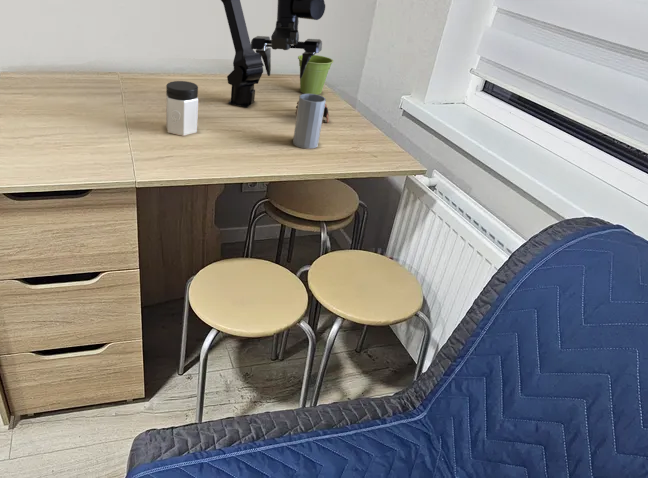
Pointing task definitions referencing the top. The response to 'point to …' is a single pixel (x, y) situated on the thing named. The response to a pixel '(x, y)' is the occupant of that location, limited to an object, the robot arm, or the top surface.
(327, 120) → the brown looped piece
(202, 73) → the top surface
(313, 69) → the plant pot
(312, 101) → the tumbler
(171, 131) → the jar
